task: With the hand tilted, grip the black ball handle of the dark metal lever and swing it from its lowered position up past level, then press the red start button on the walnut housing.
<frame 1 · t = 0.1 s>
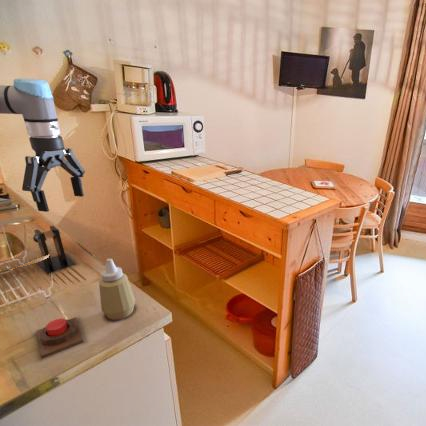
hand: (62, 203, 101), 22 cm above the countertop, tool pointing down, fingers open, 13 cm apart
lever: (43, 236, 106), point 10 cm above the countertop, hinge at -25.0°
squeeze bottle: (120, 314, 89), on the countertop
button box: (61, 340, 79), on the countertop
bracket: (56, 266, 107), on the countertop
start button: (57, 327, 78), point 4 cm above the countertop, slide at 0.1 cm
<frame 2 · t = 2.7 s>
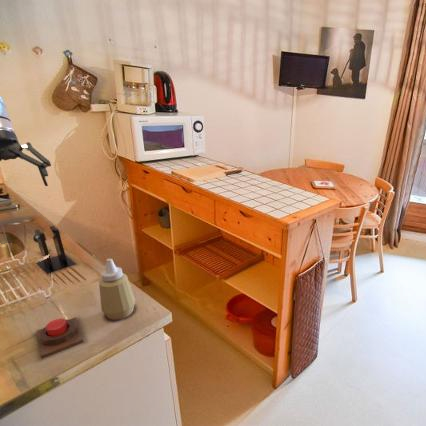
hand: (20, 189, 108), 23 cm above the countertop, tool tilted 40°, fingers open, 13 cm apart
nothing on the countertop moved.
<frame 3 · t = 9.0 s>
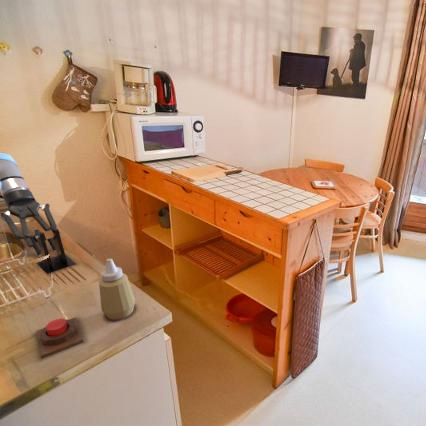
hand: (47, 251, 109), 4 cm above the countertop, tool tilted 45°, fingers closed on lever, 4 cm apart
lever: (43, 236, 106), point 10 cm above the countertop, hinge at -25.0°, touching gripper
everything else where it was.
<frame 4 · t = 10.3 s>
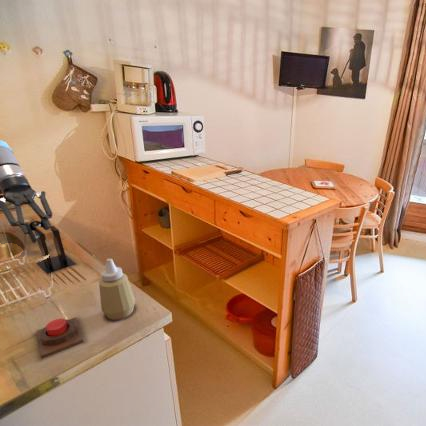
hand: (42, 238, 108), 8 cm above the countertop, tool tilted 45°, fingers closed on lever, 4 cm apart
lever: (41, 230, 106), point 12 cm above the countertop, hinge at -2.2°, touching gripper
everything else where it was.
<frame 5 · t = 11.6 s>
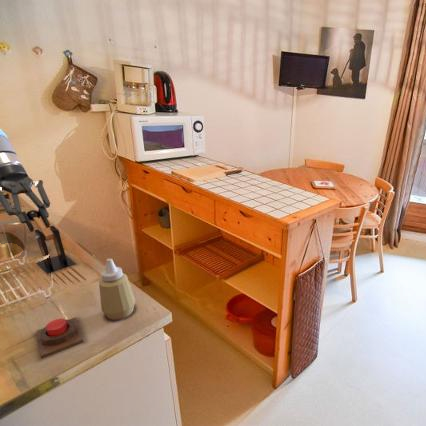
hand: (40, 228, 106), 12 cm above the countertop, tool tilted 45°, fingers closed on lever, 4 cm apart
lever: (40, 224, 105), point 14 cm above the countertop, hinge at 19.7°, touching gripper
everything else where it was.
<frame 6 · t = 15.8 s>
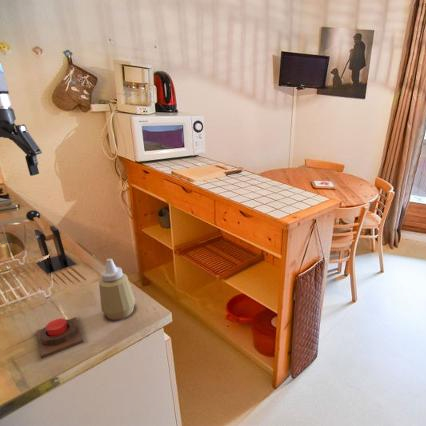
hand: (15, 172, 108), 28 cm above the countertop, tool pointing down, fingers open, 13 cm apart
lever: (40, 224, 105), point 14 cm above the countertop, hinge at 19.5°
everything else where it was.
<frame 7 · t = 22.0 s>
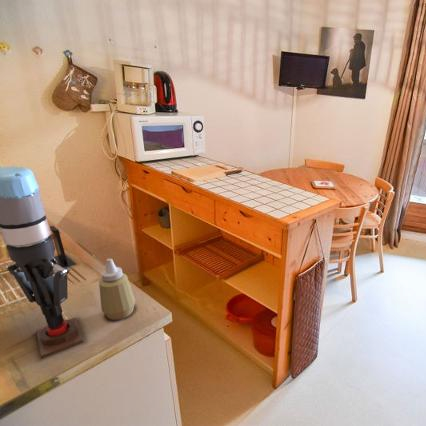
hand: (56, 324, 77), 5 cm above the countertop, tool pointing down, fingers closed
start button: (57, 328, 78), point 4 cm above the countertop, slide at -0.3 cm, touching gripper
everything else where it was.
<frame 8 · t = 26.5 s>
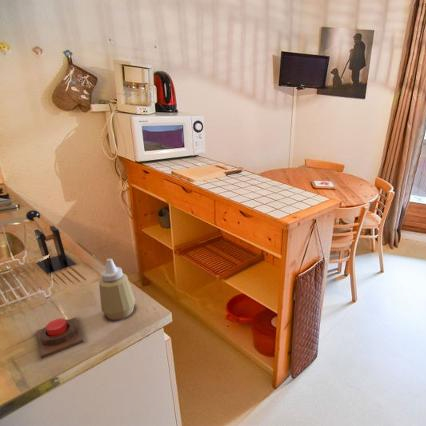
start button: (57, 327, 78), point 4 cm above the countertop, slide at 0.1 cm
everything else where it was.
at the end: lever at +20° (first picture: -25°); start button pushed in 1.0 cm at the most during the clip, back to where it started at the end; start button slide at 0.1 cm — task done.
